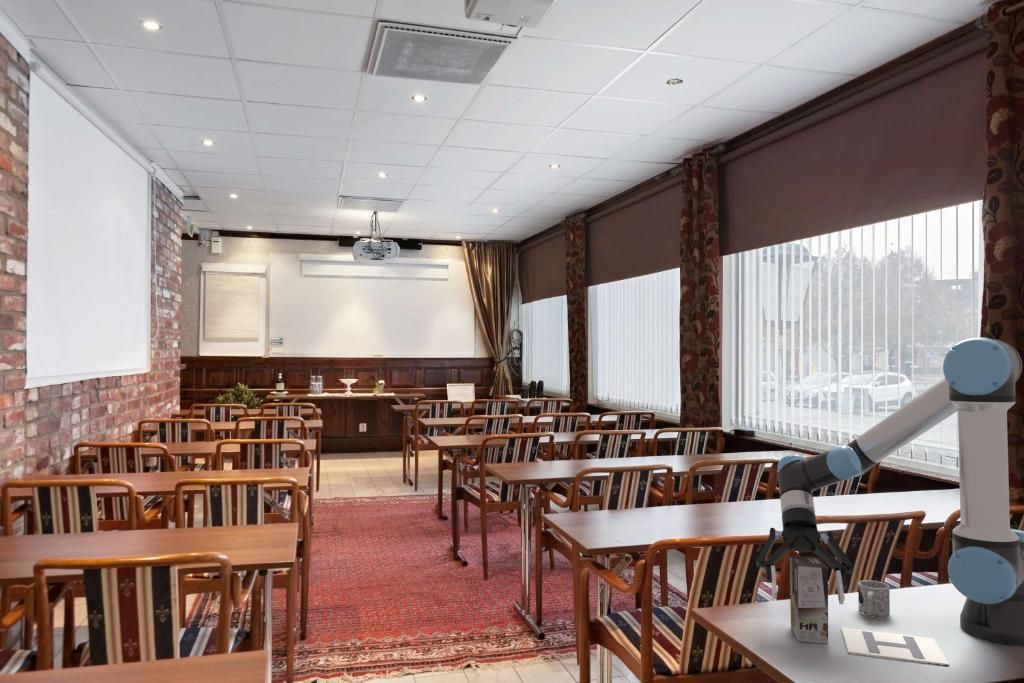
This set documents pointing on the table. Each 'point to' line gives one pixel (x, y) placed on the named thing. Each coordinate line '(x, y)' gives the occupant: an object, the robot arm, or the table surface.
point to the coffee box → (809, 598)
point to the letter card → (893, 646)
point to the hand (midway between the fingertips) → (807, 598)
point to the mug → (874, 598)
